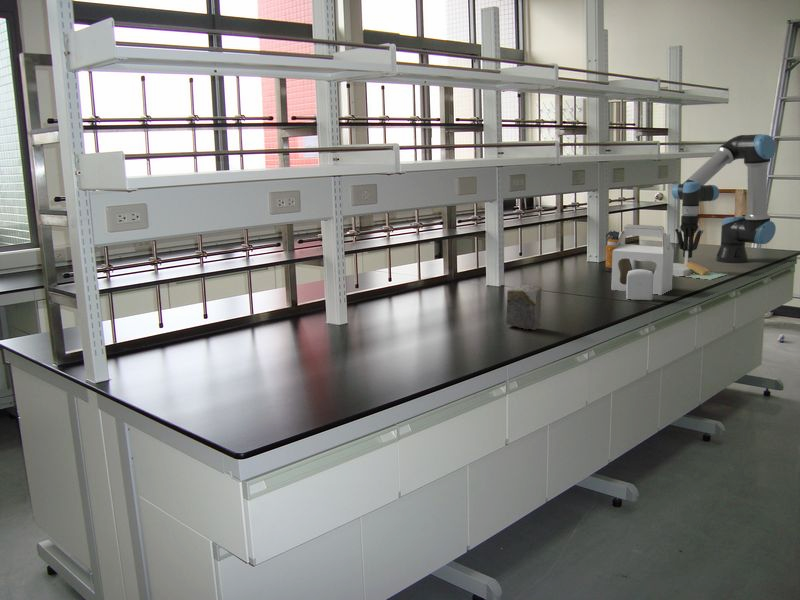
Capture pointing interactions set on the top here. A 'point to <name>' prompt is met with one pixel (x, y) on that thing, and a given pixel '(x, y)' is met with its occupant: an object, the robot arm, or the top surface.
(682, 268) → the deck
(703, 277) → the mat
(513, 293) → the geological specimen
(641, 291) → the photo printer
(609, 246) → the canister
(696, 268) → the light orange flat block
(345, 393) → the top surface
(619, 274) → the gable box
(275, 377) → the top surface
